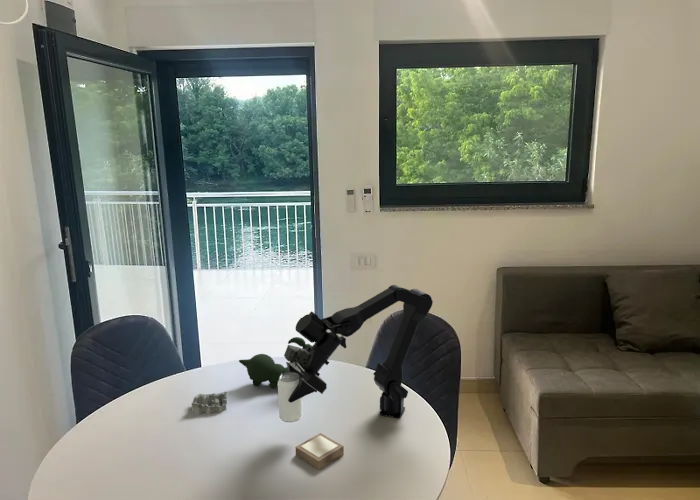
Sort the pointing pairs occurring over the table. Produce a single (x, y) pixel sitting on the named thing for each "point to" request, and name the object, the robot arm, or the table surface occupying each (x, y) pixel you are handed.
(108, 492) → the table surface
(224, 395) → the egg carton
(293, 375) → the can
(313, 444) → the block
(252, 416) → the table surface
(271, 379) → the toy figurine
